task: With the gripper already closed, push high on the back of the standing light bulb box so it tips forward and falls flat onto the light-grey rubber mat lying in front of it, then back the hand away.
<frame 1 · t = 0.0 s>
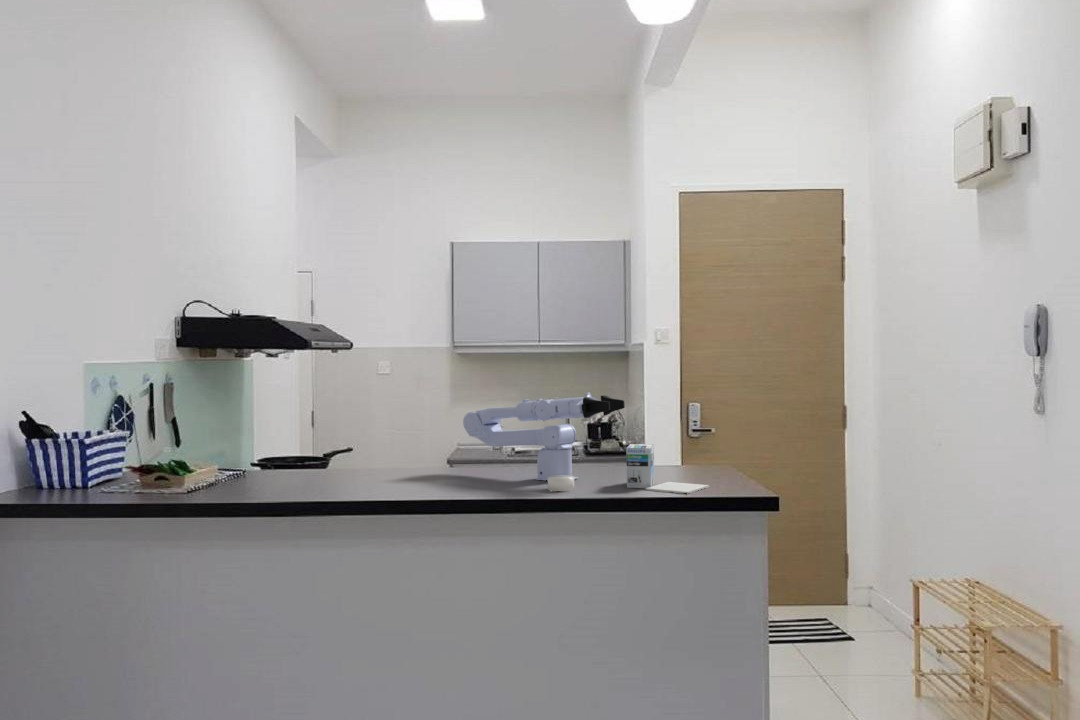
hand: (616, 405, 238), 22 cm above the worktop, tool horizontal, fingers open, 7 cm apart
light bulb box: (640, 486, 238), on the worktop
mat: (677, 488, 231), on the worktop
pale rounded bar: (561, 490, 232), on the worktop
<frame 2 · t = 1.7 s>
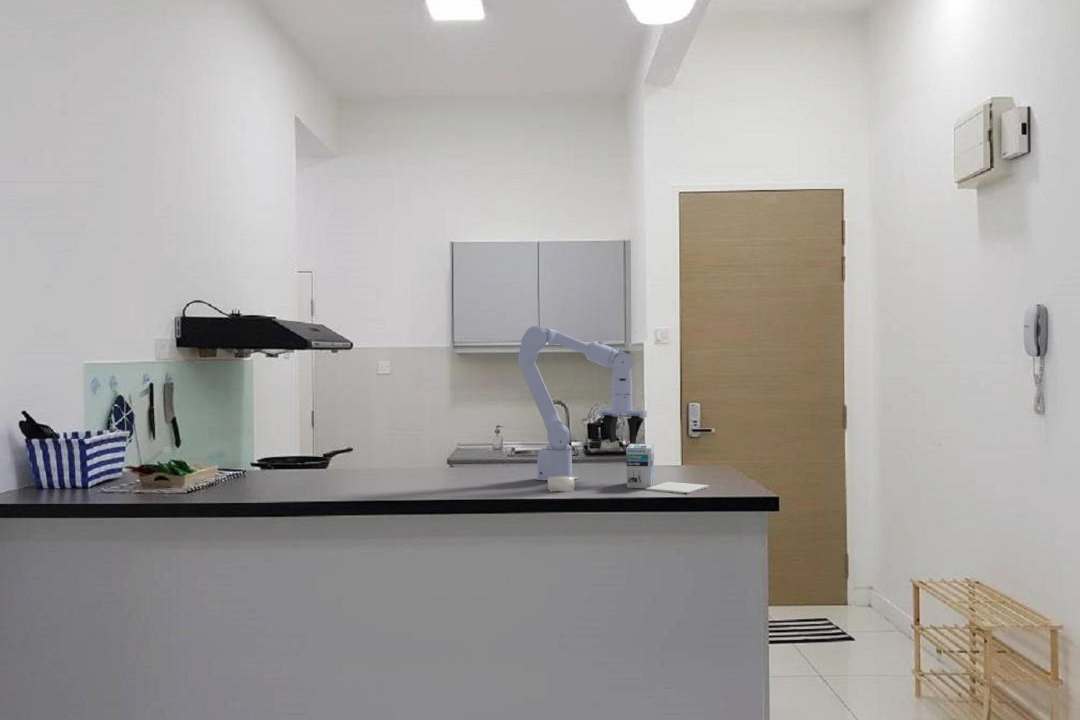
hand: (622, 442, 249), 10 cm above the worktop, tool pointing down, fingers open, 6 cm apart
nothing on the worktop moved.
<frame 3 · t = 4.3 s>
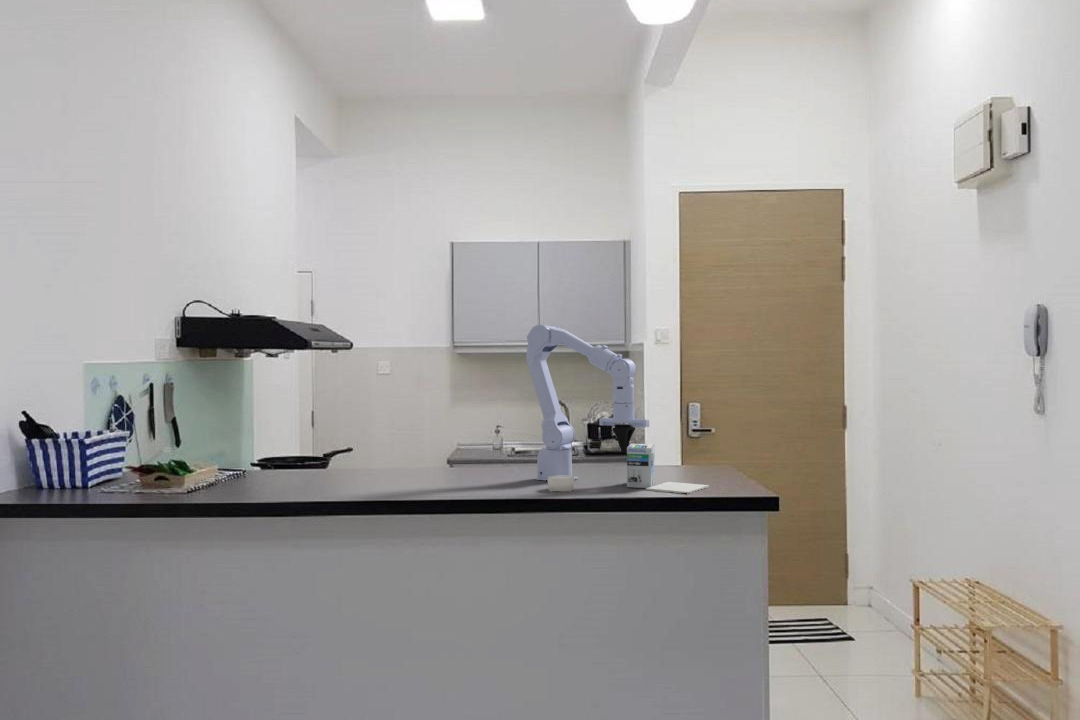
hand: (624, 452, 241), 9 cm above the worktop, tool pointing down, fingers closed
light bulb box: (640, 486, 238), on the worktop, touching gripper
everything else where it was.
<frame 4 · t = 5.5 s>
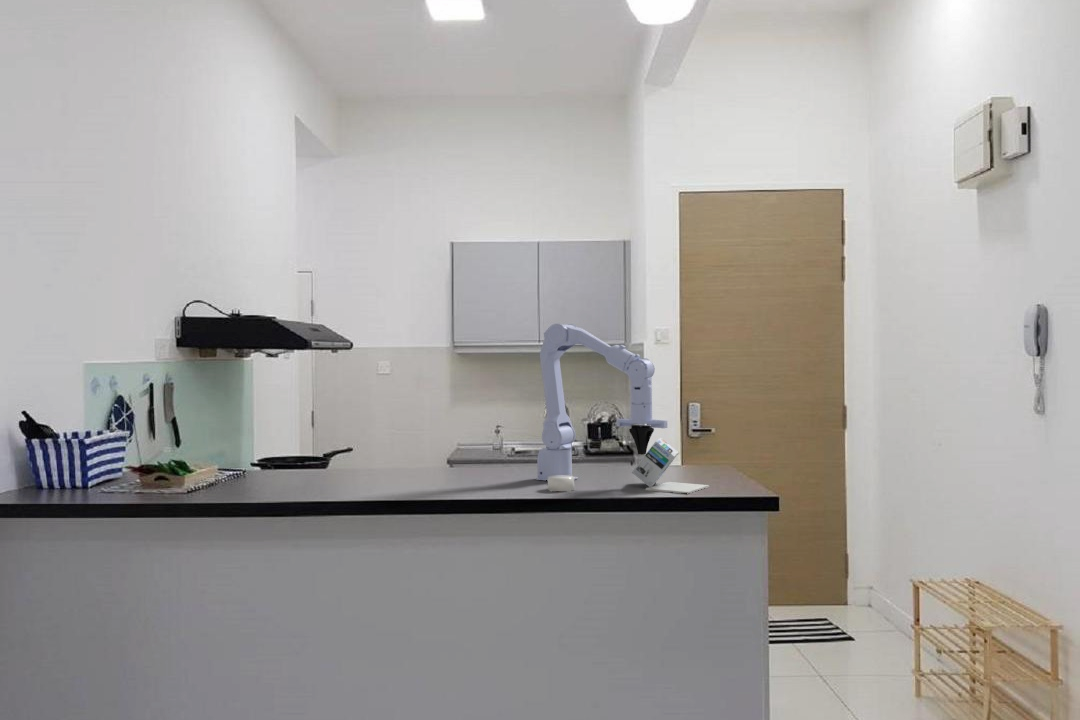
hand: (642, 454, 237), 8 cm above the worktop, tool pointing down, fingers closed
light bulb box: (643, 478, 238), point 2 cm above the worktop, touching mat
everything else where it was.
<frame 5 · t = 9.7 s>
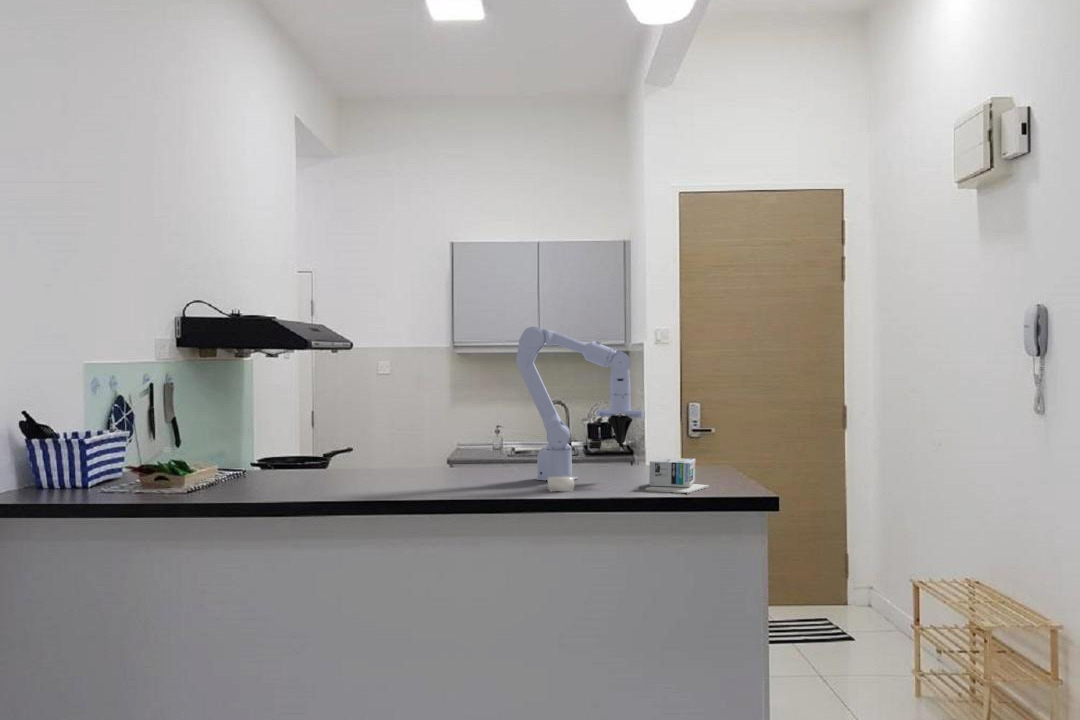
hand: (620, 442, 248), 10 cm above the worktop, tool pointing down, fingers closed
light bulb box: (652, 470, 237), point 4 cm above the worktop, touching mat
everything else where it was.
at the end: light bulb box tilted 91°; light bulb box 8.3 cm from the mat (horizontally) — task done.
